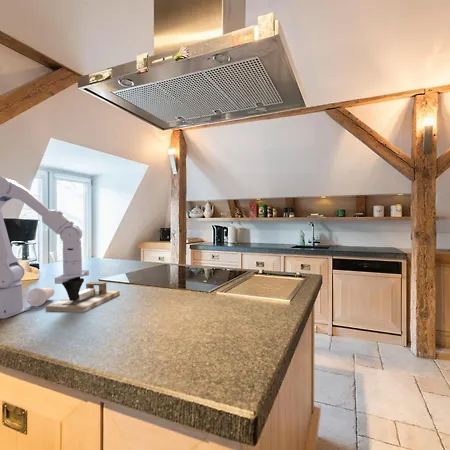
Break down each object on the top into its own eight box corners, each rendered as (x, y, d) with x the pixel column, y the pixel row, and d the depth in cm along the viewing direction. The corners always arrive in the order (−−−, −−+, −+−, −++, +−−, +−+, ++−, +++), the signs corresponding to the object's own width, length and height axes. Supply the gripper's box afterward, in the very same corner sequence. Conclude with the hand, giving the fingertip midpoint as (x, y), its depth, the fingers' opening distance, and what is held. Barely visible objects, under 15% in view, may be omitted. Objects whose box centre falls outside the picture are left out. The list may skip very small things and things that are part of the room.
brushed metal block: (79, 301, 102) (79, 294, 102) (71, 300, 102) (71, 294, 102) (95, 294, 111) (95, 288, 110) (88, 294, 111) (87, 288, 111)
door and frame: (83, 312, 95) (83, 294, 95) (45, 310, 98) (45, 293, 98) (119, 294, 117) (119, 280, 117) (87, 293, 120) (87, 280, 119)
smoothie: (37, 296, 111) (15, 304, 98) (45, 281, 112) (24, 287, 98) (53, 303, 112) (33, 313, 98) (61, 288, 112) (42, 295, 99)
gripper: (67, 264, 93) (69, 306, 93) (95, 258, 107) (96, 295, 107) (48, 264, 94) (49, 306, 94) (78, 258, 108) (79, 294, 108)
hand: (73, 300), depth 101 cm, fingers closed
